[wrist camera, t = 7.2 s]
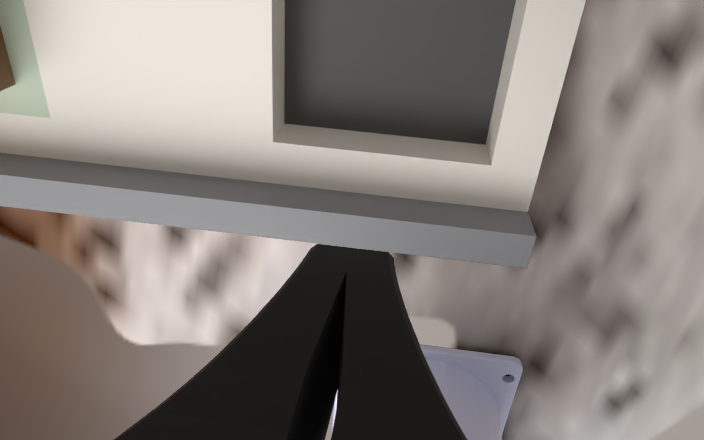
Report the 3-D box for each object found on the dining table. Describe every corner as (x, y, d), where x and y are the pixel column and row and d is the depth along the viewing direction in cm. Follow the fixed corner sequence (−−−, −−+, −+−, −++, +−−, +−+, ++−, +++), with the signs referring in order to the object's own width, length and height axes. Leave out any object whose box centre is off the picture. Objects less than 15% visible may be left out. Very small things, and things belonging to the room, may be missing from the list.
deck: (506, 231, 20) (524, 298, 17) (-91, 163, 22) (-186, 211, 18) (630, -251, 13) (703, -306, 10) (-274, -306, 15) (-486, -370, 11)
